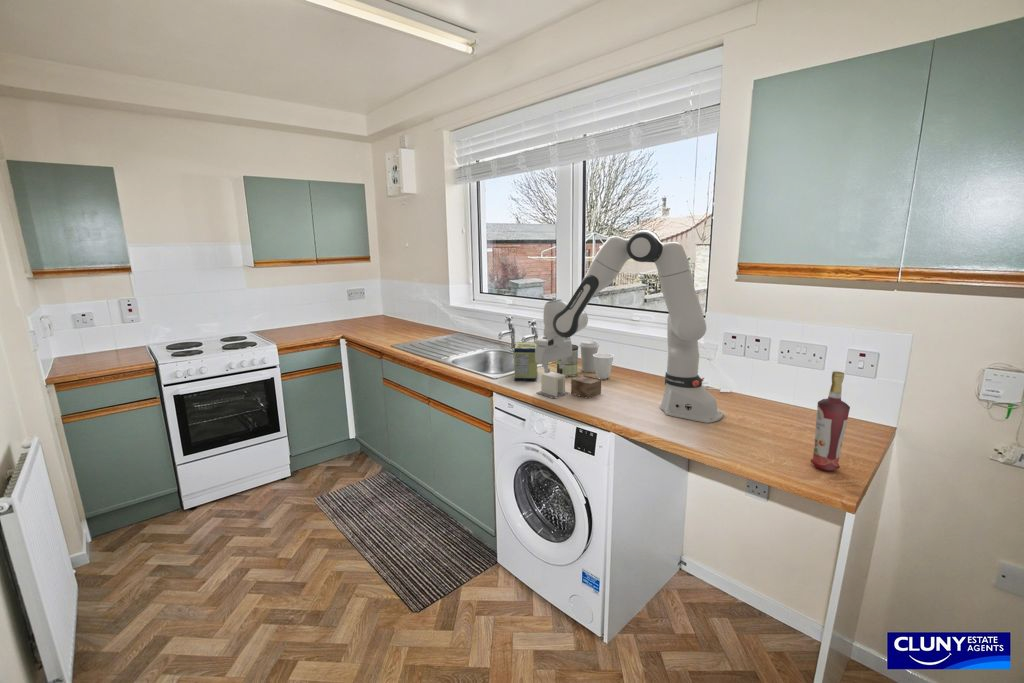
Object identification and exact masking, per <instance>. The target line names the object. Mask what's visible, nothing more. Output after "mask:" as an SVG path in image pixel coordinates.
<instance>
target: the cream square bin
mask: <svg viewBox="0 0 1024 683" xmlns="http://www.w3.org/2000/svg"><path fill="white" fill-rule="evenodd" d="M541 392H543V393H546V394H549V395H553V396H558V392H559V393H562V394H564V393H565V392H566V377H565V375H563V374H559V373H557V372H554V371H550V372H549V373H545V372H544V373H541Z"/></svg>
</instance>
